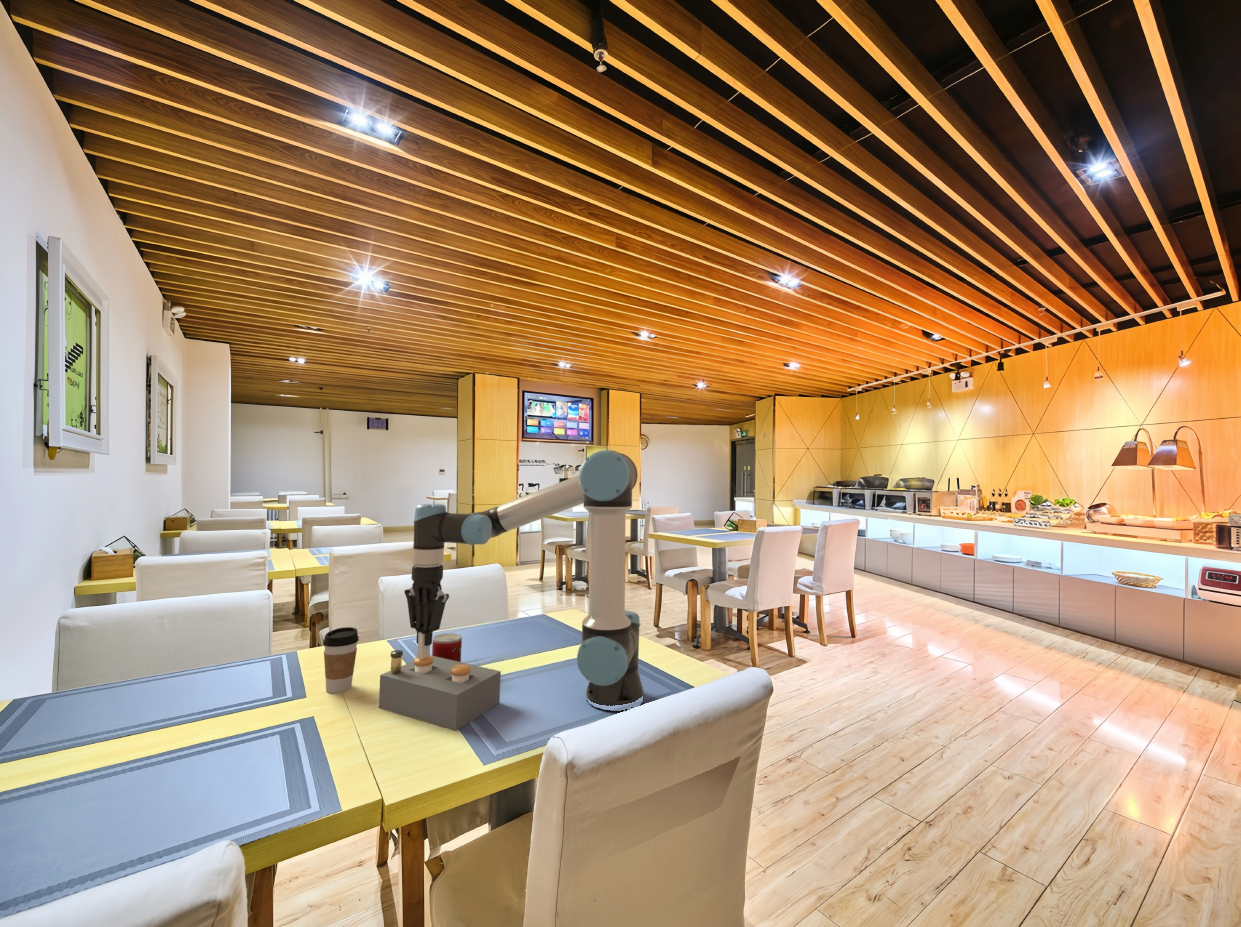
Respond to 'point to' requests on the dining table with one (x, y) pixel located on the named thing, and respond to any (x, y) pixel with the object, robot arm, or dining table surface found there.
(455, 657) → the canned food
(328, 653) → the coffee cup
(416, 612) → the robot arm
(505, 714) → the dining table surface
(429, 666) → the knob
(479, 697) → the grey vial rack
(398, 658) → the small capped vial
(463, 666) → the knob
